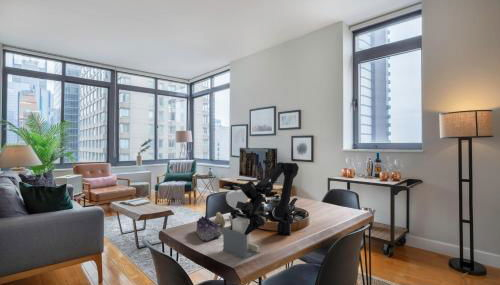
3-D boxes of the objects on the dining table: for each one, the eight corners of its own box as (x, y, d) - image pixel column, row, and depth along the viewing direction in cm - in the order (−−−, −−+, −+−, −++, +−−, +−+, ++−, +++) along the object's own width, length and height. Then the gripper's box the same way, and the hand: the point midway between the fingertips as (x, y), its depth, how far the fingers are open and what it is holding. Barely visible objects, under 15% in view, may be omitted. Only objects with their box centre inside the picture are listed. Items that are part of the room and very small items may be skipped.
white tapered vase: (241, 246, 126) (240, 216, 126) (249, 249, 122) (249, 218, 122) (232, 249, 121) (232, 219, 122) (241, 252, 118) (241, 221, 118)
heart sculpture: (245, 214, 182) (244, 188, 183) (249, 216, 178) (248, 189, 178) (225, 218, 174) (225, 191, 174) (229, 220, 169) (229, 192, 170)
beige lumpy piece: (206, 222, 149) (200, 218, 156) (210, 235, 150) (205, 231, 158) (222, 213, 154) (216, 210, 162) (226, 227, 155) (220, 223, 163)
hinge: (250, 232, 146) (244, 216, 145) (243, 236, 144) (237, 220, 143) (238, 224, 161) (233, 209, 160) (231, 227, 159) (226, 213, 158)
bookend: (238, 244, 130) (238, 223, 130) (259, 252, 120) (259, 230, 120) (223, 250, 122) (222, 228, 122) (244, 259, 113) (243, 236, 113)
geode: (188, 232, 148) (190, 214, 149) (208, 231, 154) (209, 214, 155) (201, 242, 131) (203, 221, 132) (222, 241, 136) (224, 221, 137)
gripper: (232, 192, 130) (214, 219, 122) (260, 197, 117) (242, 228, 109) (243, 205, 136) (227, 231, 128) (271, 211, 123) (255, 241, 115)
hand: (237, 233), depth 120 cm, fingers open, 9 cm apart
